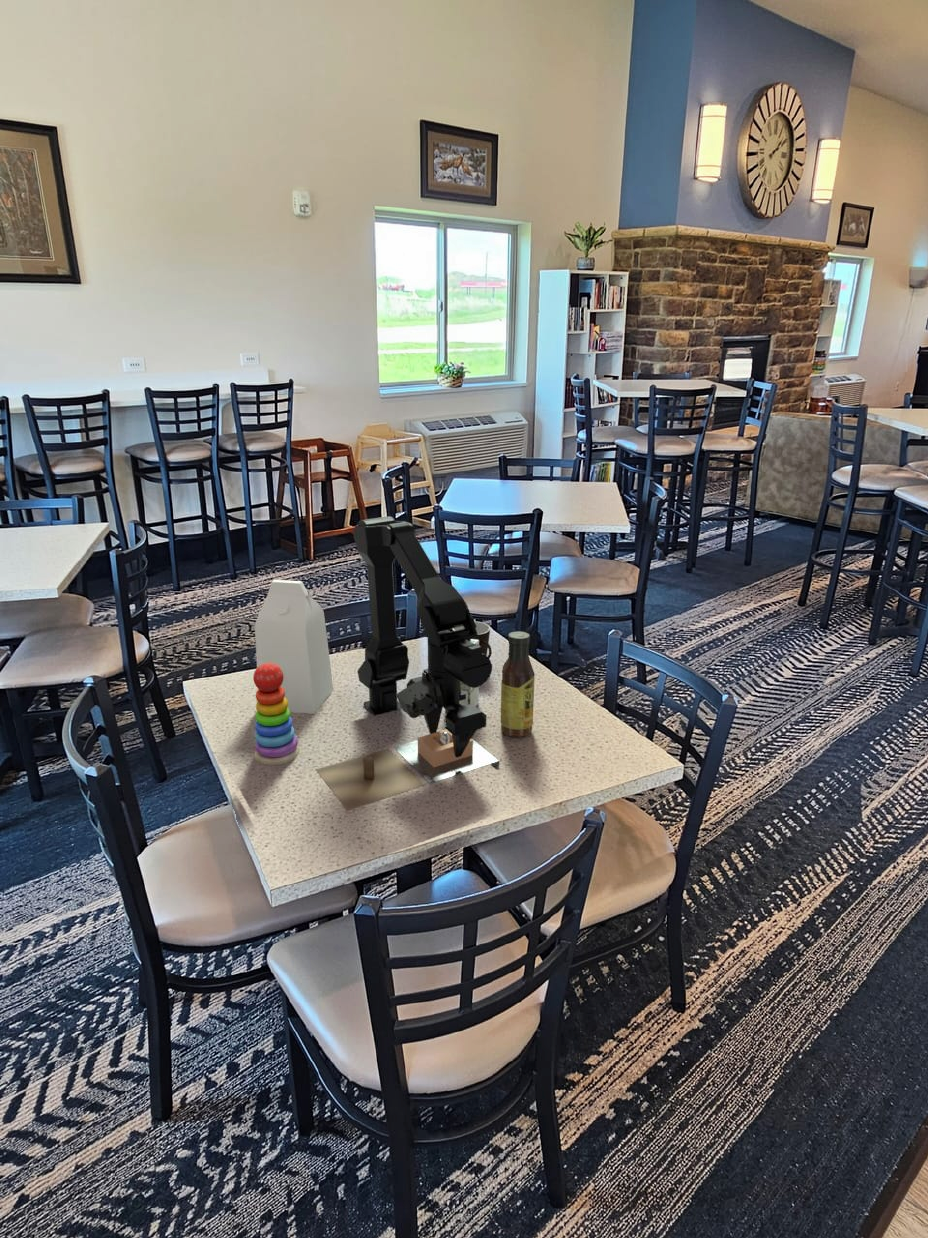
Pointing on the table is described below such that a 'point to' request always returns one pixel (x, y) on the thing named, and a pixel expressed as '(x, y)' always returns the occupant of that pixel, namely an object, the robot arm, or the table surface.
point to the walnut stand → (368, 778)
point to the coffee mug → (481, 636)
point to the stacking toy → (273, 718)
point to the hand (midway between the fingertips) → (445, 745)
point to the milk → (295, 644)
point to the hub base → (448, 769)
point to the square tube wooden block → (440, 749)
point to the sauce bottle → (517, 687)
